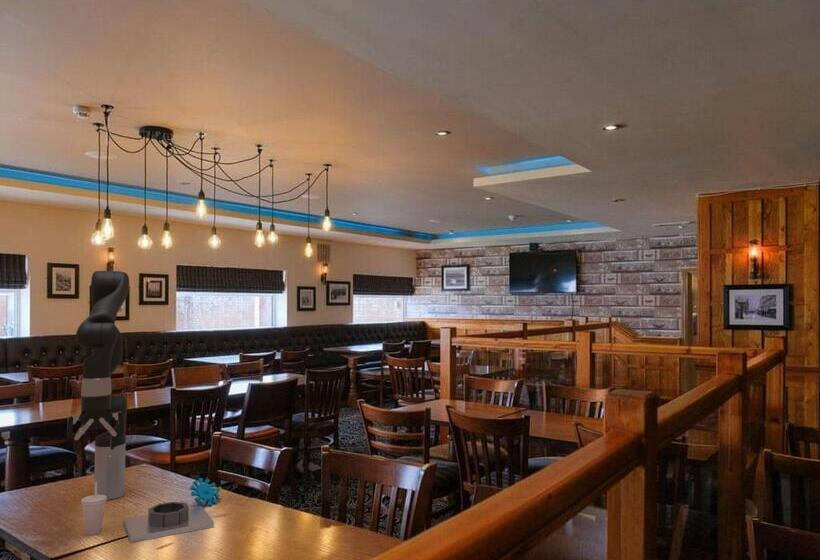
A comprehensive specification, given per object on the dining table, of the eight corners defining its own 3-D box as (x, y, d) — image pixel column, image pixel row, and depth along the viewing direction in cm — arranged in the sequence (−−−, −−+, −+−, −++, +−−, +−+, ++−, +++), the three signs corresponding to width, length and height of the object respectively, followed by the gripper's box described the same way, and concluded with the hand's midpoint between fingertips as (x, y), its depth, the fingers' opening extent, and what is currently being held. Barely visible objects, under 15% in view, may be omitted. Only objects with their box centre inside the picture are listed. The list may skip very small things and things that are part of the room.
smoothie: (111, 530, 172) (112, 480, 173) (92, 538, 166) (93, 486, 167) (93, 527, 174) (94, 478, 175) (75, 535, 168) (76, 484, 169)
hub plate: (123, 523, 177) (123, 506, 177) (201, 510, 188) (201, 494, 189) (130, 542, 163) (130, 523, 163) (213, 527, 175) (214, 509, 175)
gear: (197, 505, 188) (188, 478, 193) (188, 516, 190) (179, 489, 195) (227, 501, 197) (217, 475, 202) (218, 512, 199) (208, 485, 204)
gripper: (122, 389, 179) (121, 445, 178) (67, 393, 171) (65, 451, 170) (125, 393, 172) (124, 450, 172) (68, 397, 165) (66, 457, 164)
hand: (95, 451), depth 171 cm, fingers open, 8 cm apart
